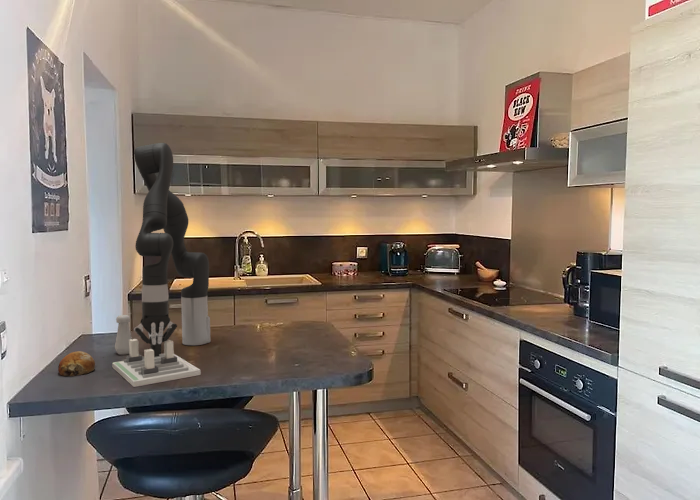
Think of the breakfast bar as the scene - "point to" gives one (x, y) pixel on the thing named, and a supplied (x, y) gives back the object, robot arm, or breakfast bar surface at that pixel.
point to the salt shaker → (123, 335)
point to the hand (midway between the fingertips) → (155, 356)
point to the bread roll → (76, 364)
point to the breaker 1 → (133, 351)
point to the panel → (165, 373)
